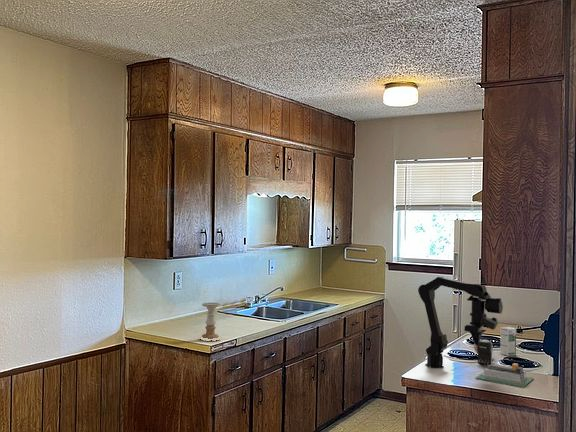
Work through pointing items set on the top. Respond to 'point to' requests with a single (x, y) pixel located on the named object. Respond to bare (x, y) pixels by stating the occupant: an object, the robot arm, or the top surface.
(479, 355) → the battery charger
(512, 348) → the syrup box
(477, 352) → the decorative fruit
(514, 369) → the wood block
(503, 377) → the green railed baseplate
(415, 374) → the top surface
